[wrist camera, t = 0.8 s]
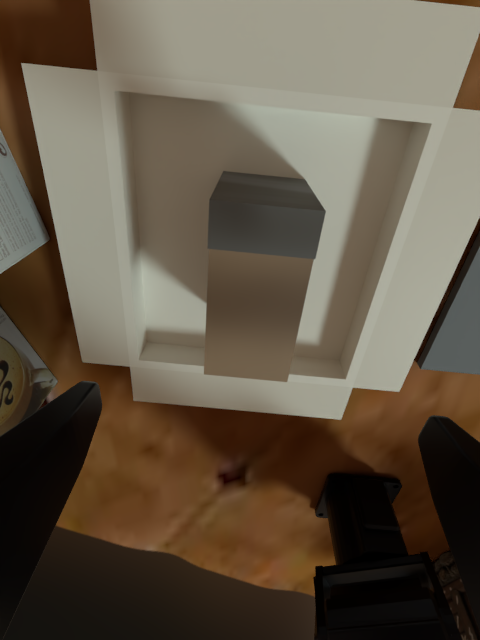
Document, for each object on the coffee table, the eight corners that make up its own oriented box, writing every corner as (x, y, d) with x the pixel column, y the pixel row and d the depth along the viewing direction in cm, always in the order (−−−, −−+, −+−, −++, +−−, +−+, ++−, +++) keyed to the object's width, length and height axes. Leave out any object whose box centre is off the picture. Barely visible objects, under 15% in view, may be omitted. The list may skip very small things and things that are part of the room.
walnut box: (280, 316, 21) (288, 382, 16) (215, 310, 21) (202, 374, 16) (305, 179, 17) (325, 211, 12) (223, 171, 17) (209, 199, 12)
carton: (374, 398, 26) (384, 423, 23) (102, 372, 25) (89, 396, 23) (526, 29, 14) (571, 17, 12) (36, -23, 14) (-1, -45, 12)
